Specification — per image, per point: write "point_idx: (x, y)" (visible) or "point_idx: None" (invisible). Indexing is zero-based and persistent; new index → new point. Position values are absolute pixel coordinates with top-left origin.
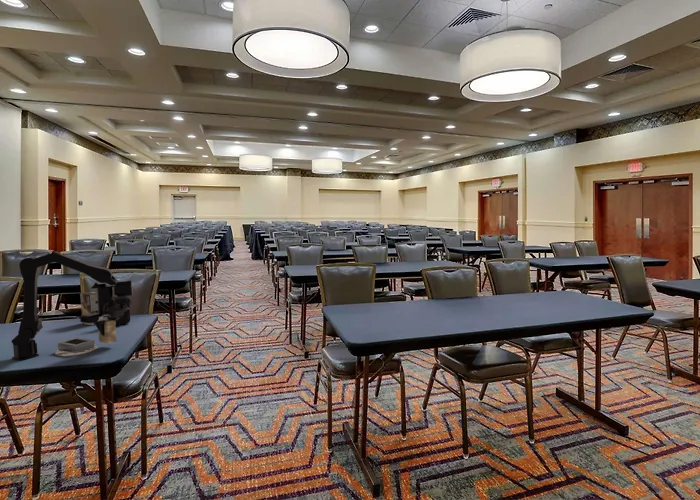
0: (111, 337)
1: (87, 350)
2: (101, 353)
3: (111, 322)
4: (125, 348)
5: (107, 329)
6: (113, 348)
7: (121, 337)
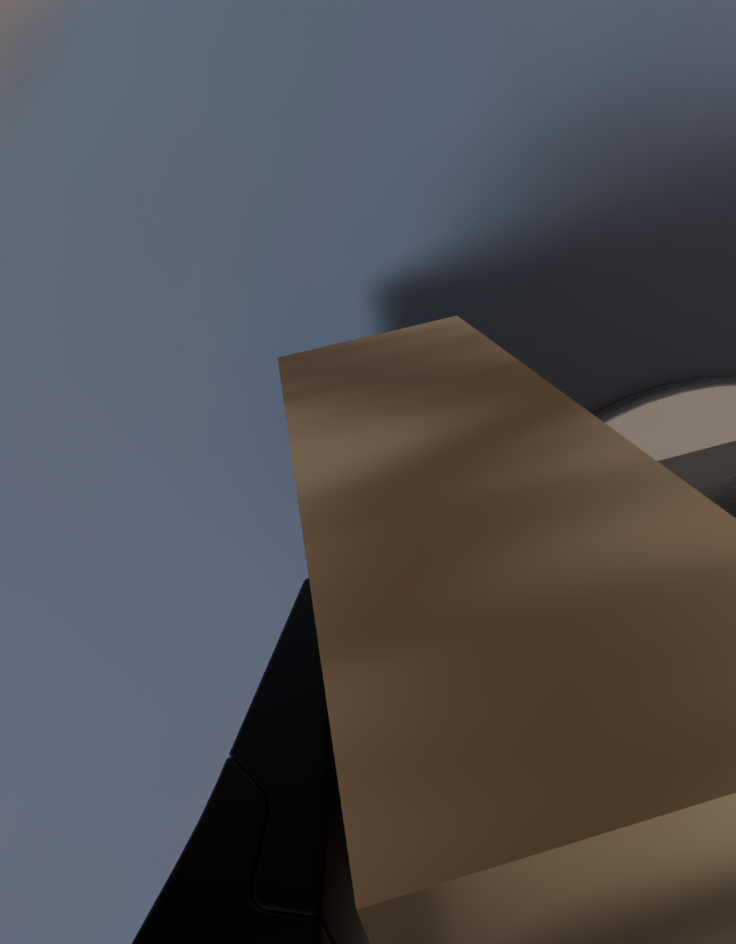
0: (423, 369)
1: (680, 417)
2: (625, 150)
3: (663, 743)
4: (200, 18)
5: (653, 488)
6: (357, 272)
7: (32, 736)
